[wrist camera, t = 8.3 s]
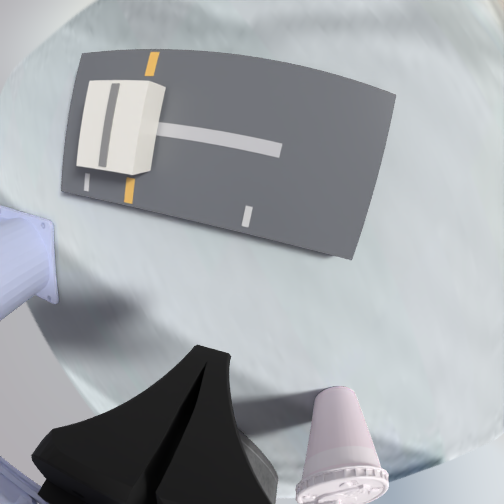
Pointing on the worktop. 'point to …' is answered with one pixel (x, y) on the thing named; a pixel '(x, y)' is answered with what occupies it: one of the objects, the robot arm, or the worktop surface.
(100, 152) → the fader knob
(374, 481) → the smoothie
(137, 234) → the worktop surface
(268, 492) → the flask
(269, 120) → the console
